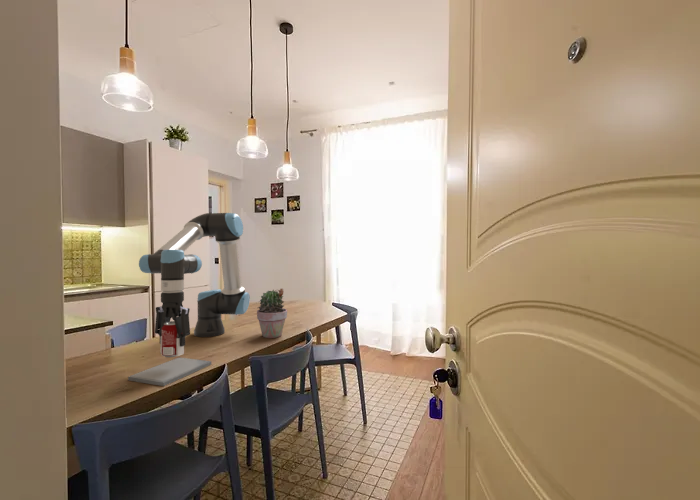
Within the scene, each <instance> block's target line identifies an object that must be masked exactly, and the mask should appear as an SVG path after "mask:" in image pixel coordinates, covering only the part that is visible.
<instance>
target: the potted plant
mask: <svg viewBox="0 0 700 500" xmlns="http://www.w3.org/2000/svg"><path fill="white" fill-rule="evenodd" d="M283 297H284V288H280V289H279V290H278V289H276V290H274V289H272V290H267V291H266V292H263V293H262V295H261V296H260V300H259V301H258V303H259V304H260V305H259V306H258V307H255V308H253V309H258V310H256V318H257V320H258V323H259V328H260V331H261V336H262V337H263V338H266V339H274V338H279V337H281V336H282V335H283V330H284V325H285V323H286V319H287V318H288V310H287V309H288V308H284V307H285V304H284V303H285V301H284V300H283ZM255 304H257V302H255V303H254V305H255Z"/></svg>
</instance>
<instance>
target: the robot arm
mask: <svg viewBox="0 0 700 500" xmlns="http://www.w3.org/2000/svg"><path fill="white" fill-rule="evenodd" d="M243 234H244V225H243V220H242V219H241V217H240V216H239V214H237V213H234V212H213V213H212V212H207V213H203V214H200V215H197V216H195V217H194V218H191V219H190V220H189V221H187V222H186V223H185V224H184V226H183V228H182V230H180V231H179V232H178V233H177V234H175V235H174V236H173V237H171V239H170V240H168V241H167V242H165V244H163V245H162V246H161V247H160V248H159V249H158V250H156V251H154V253H152V254H151V253H149V254H148V253H147V254H143V255H142V256H141V257H140V258H139V260H138V267H139V270H140V271H141V272H142V273H145V274H153V275H154V274H160V291H161V293H160V303H162V305H161V306H156V307H155V313H156V314H155V323H154V324H155V325H154V333H155V334H157V335H158V336H159V344H160V355H162V327H163V326H164V323H168V322H170V321H171V319H172V321H174V322H175V326H176V329H177V333H178V337H177V350H176V356H175V357H179V356H182V355H184V354H185V346H186V337H187V336H190V335H191V329H190V308H189V307H187V308H186V307H185V306H184V305H183V302H184V301H185V292H184V290H185V280H184V279H185V275H186V274H194V273H197V272H199V271H200V270H201V268H202V265H203V261H202V259H201V257H199V255H196V254H185V251H187V249H189V248H190V247H191V245H193V243H195V242H196V241H199V240H201V239H203V238H205V237H206V238H207V237H214V238H215V242H216V243H218V245H219V246H218V247H219V255H220V262H221V271H222V280H223V281H222V282H223V289H221V288H220V289H219V288H218V289H211V290H204V291H200V292H199V293H198V294H197V300H196V301H197V321H196V324H195V327H194V330H193V336H195V337H198V338H209V337H216V336H221V335H223V334H225V333H226V331H225V326H224V323H223V320H222V315H236V316H237V315H244V314H245V313H246V312H247V311H248V309H249V306H250V299H251V298H250V293H249V292H247V291H246V290H245V289H246V288H245V287H244V286H243V285H242V277H241V269H240V260H239V249H238V242H239V241H240V239H241V238H240V237H241V236H243ZM181 333H182V334H181Z"/></svg>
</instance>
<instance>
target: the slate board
mask: <svg viewBox="0 0 700 500" xmlns="http://www.w3.org/2000/svg"><path fill="white" fill-rule="evenodd" d="M211 365H212V361H211V360H203V359H202V360H201V359H196V358H195V359H194V358H189V357H188V358H186V357H179V356H178V357H176V358H173V359H172V360H169V361H168V360H167V361H166V362H163V363H160V364H158V365H155V366H153V367H150V368H148V369H144V370H142V371H139V372H137V373H134V374H132V375H129V376H128V377H127V381H131V382H136V383H142V384H147V385H148V384H149V385H154V386H155V385H156V386H161V387H166V386H168V385H170V384H172V383H174V382H176V380H177V381H178V379H179V380H180V379H183V378H184V377H187V376H189V375H192V374H193V373H196V372H198V371H200V370H202V369H205V368H207V367H209V366H211ZM169 383H170V384H169ZM167 384H168V385H167ZM165 385H166V386H165Z"/></svg>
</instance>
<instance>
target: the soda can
mask: <svg viewBox="0 0 700 500" xmlns="http://www.w3.org/2000/svg"><path fill="white" fill-rule="evenodd" d="M181 334H182V333H181ZM177 337H178V333H177V329H176V326H175V322H174V320H170V322H168V323H164V326H163V327H162V354H161V356H162V357H165V358H174V357H177V356H176V350H177Z"/></svg>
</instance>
